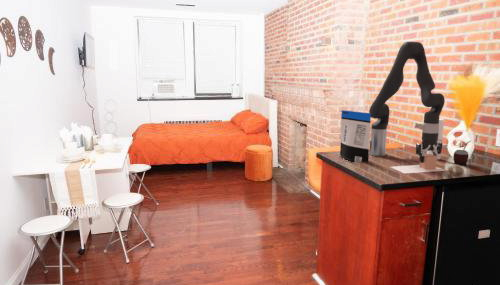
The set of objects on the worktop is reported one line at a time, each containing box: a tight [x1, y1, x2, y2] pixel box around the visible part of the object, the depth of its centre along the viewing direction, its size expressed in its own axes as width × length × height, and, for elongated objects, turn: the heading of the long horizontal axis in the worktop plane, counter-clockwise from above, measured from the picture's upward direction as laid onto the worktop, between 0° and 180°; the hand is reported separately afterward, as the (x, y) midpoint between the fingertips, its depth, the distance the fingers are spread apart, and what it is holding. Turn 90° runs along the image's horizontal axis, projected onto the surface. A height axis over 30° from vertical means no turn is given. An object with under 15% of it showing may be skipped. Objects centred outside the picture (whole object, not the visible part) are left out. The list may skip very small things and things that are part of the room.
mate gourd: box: [453, 140, 471, 166], centre depth 183 cm, size 8×8×15 cm
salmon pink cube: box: [418, 153, 438, 170], centre depth 173 cm, size 6×6×7 cm
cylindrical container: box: [426, 117, 445, 160], centre depth 193 cm, size 7×7×25 cm
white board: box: [390, 164, 447, 174], centre depth 173 cm, size 24×13×2 cm, turn 99°
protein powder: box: [339, 109, 372, 163], centre depth 196 cm, size 10×24×30 cm, turn 25°
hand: (427, 162), depth 173 cm, fingers open, 6 cm apart
